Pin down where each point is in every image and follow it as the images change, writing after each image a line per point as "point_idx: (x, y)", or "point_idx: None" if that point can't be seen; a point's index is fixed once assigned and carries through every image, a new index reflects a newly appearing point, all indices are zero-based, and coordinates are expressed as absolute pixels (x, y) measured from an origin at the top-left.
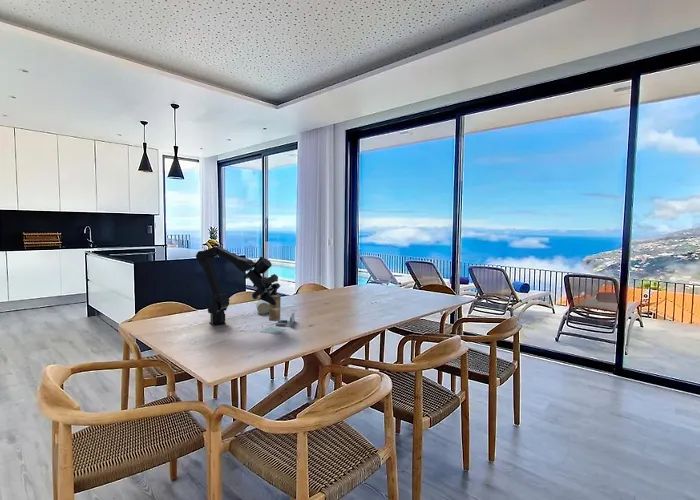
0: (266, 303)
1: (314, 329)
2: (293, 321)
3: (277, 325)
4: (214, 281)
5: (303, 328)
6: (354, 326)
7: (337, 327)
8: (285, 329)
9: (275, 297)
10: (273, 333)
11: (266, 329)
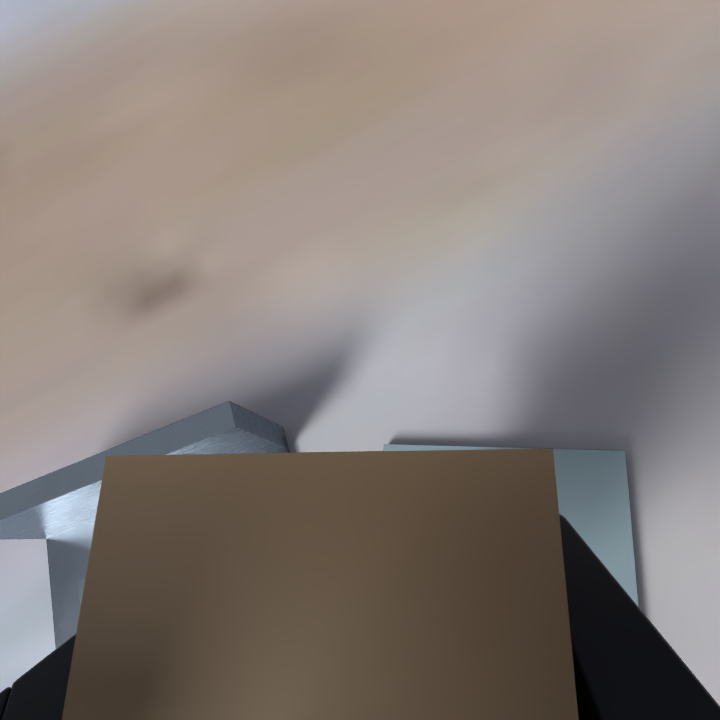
0: None
1: (265, 202)
2: None
3: None
4: None
5: (265, 305)
6: (107, 8)
7: (158, 84)
8: (389, 445)
9: (551, 531)
10: (626, 492)
11: None
